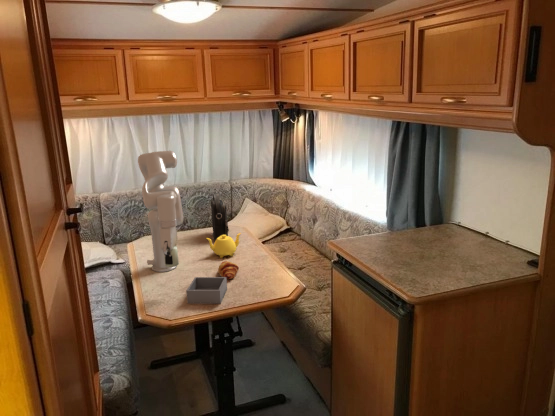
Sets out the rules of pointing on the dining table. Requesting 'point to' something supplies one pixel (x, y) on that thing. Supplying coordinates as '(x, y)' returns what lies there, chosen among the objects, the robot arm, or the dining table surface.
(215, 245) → the teapot
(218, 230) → the shoulder bag
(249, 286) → the dining table surface
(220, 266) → the croissant
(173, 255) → the pale green rounded block
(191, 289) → the bin
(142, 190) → the robot arm
